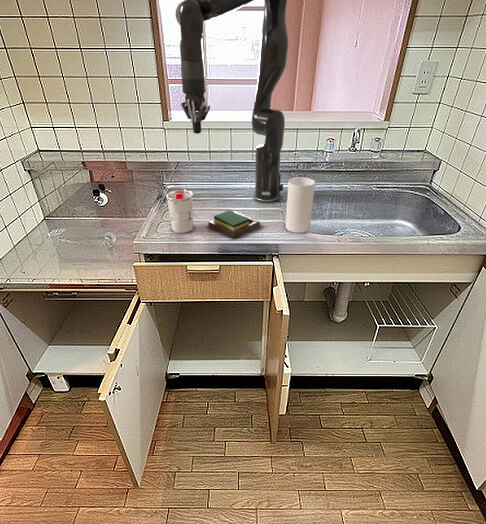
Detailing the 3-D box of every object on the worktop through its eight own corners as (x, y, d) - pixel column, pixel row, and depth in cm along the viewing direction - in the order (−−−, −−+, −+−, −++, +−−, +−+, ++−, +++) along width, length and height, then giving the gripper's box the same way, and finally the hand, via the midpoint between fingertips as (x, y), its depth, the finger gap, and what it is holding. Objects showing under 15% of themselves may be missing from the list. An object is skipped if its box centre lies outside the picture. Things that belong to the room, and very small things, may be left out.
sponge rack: (235, 216, 127) (234, 211, 126) (259, 226, 120) (259, 221, 119) (208, 227, 120) (208, 221, 119) (233, 239, 113) (233, 233, 112)
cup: (309, 233, 115) (315, 186, 107) (284, 231, 117) (287, 185, 108) (310, 222, 122) (315, 177, 114) (286, 221, 124) (289, 176, 115)
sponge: (229, 218, 126) (229, 210, 124) (249, 227, 119) (249, 218, 118) (214, 225, 122) (213, 215, 120) (233, 234, 115) (233, 225, 114)
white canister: (190, 236, 115) (186, 201, 108) (165, 233, 116) (161, 199, 110) (199, 223, 123) (196, 190, 117) (176, 221, 124) (172, 188, 118)
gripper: (215, 77, 112) (218, 134, 121) (189, 75, 120) (193, 128, 129) (197, 79, 107) (201, 138, 117) (171, 76, 115) (177, 132, 125)
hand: (197, 133), depth 123 cm, fingers closed
